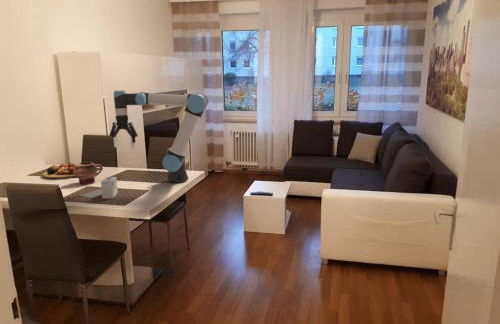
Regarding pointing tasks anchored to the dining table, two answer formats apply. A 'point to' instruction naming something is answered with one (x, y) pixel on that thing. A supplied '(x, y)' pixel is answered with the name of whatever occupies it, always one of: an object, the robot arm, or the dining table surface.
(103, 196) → the light bulb box
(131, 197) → the dining table surface
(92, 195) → the mat
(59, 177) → the wooden plate with food
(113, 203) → the dining table surface
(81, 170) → the brown rounded vessel
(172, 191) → the dining table surface
